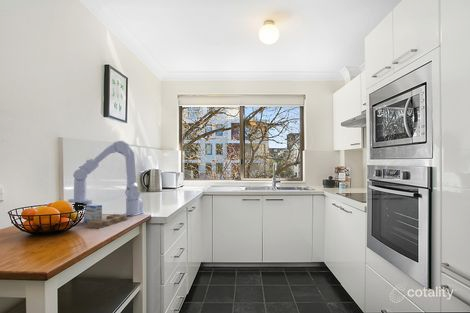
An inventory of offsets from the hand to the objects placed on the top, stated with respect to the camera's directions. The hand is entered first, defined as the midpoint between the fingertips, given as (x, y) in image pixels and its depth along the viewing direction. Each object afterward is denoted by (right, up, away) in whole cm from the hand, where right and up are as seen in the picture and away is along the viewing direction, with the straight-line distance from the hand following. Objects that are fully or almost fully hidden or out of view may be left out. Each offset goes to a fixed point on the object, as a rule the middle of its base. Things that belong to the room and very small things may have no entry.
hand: (79, 216), depth 145 cm
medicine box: (+9, -2, -3) cm, 9 cm away
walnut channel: (+18, -2, -6) cm, 19 cm away
